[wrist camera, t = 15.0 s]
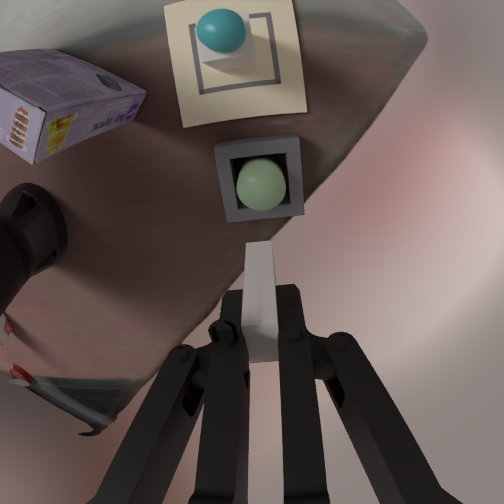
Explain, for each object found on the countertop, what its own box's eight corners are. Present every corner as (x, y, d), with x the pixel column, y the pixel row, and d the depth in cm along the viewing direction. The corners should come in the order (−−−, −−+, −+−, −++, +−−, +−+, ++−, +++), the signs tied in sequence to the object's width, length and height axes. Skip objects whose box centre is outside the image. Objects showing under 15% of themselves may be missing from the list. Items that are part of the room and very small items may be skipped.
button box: (229, 212, 35) (227, 222, 33) (217, 142, 30) (213, 147, 28) (301, 204, 35) (304, 214, 32) (295, 133, 30) (299, 137, 27)
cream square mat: (184, 127, 29) (183, 128, 29) (164, 7, 21) (163, 6, 21) (306, 111, 28) (307, 112, 28) (288, -13, 20) (289, -14, 19)
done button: (242, 197, 34) (240, 213, 30) (236, 157, 31) (233, 168, 27) (284, 193, 33) (287, 208, 29) (280, 152, 30) (283, 162, 27)
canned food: (25, 357, 71) (21, 375, 63) (37, 375, 76) (35, 394, 68) (4, 361, 67) (0, 379, 59) (17, 378, 71) (14, 396, 63)
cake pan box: (35, 76, 24) (-62, 99, 9) (48, 45, 21) (-50, 53, 6) (131, 126, 29) (35, 171, 14) (150, 90, 27) (55, 104, 12)
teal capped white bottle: (219, 71, 26) (194, 59, 15) (214, 39, 23) (187, 10, 13) (255, 65, 25) (254, 49, 15) (251, 33, 23) (246, 0, 13)
